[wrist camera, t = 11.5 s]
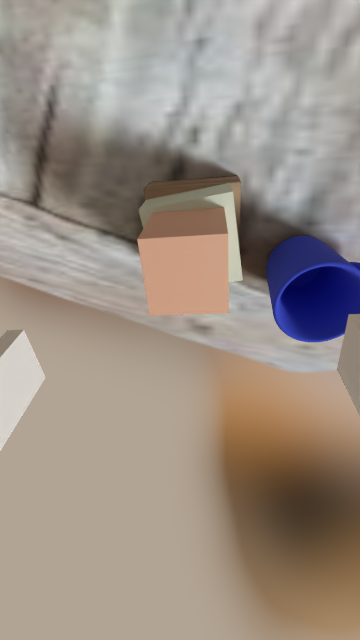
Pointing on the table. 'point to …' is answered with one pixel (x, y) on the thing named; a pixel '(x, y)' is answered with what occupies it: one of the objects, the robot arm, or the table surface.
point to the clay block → (186, 262)
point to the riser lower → (192, 184)
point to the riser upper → (203, 200)
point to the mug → (312, 289)
